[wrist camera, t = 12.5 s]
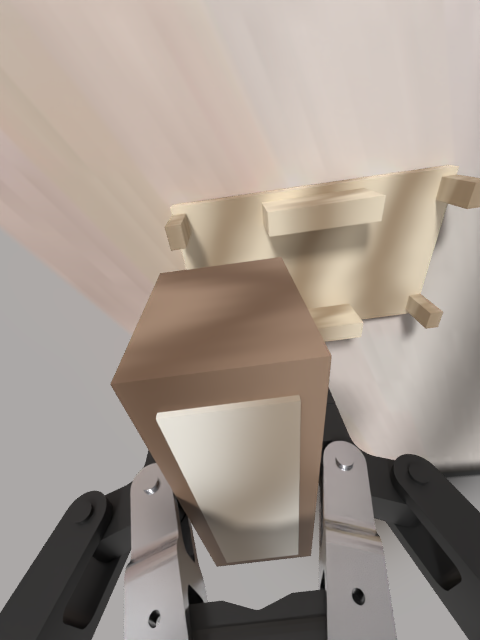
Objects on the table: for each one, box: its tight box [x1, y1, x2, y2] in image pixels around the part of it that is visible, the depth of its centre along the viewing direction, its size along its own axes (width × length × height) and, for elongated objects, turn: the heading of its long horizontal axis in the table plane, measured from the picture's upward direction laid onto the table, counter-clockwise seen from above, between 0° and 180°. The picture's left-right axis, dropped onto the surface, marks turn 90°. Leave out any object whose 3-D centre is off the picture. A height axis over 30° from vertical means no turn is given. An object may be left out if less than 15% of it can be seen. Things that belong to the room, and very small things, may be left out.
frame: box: [111, 257, 331, 566], centre depth 10 cm, size 4×12×5 cm, turn 7°
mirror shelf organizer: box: [165, 165, 480, 342], centre depth 21 cm, size 20×12×4 cm, turn 97°
